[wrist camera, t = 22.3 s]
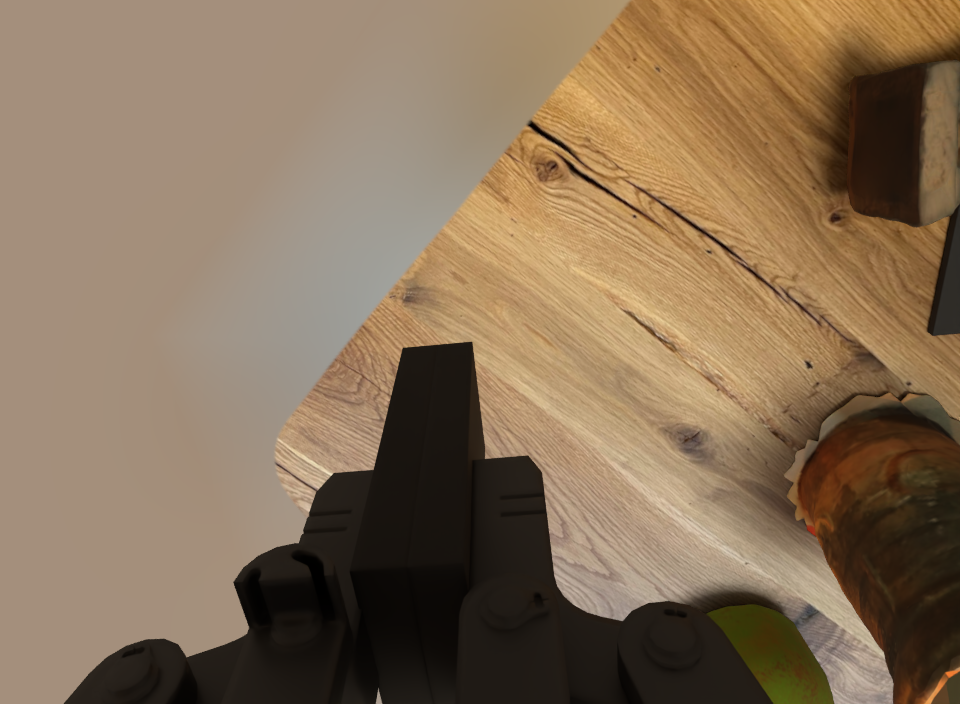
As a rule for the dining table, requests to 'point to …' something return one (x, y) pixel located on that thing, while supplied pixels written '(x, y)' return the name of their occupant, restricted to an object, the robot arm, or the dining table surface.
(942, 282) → the mat
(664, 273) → the dining table surface
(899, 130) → the statue
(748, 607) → the apple
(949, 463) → the vessel
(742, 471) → the dining table surface
